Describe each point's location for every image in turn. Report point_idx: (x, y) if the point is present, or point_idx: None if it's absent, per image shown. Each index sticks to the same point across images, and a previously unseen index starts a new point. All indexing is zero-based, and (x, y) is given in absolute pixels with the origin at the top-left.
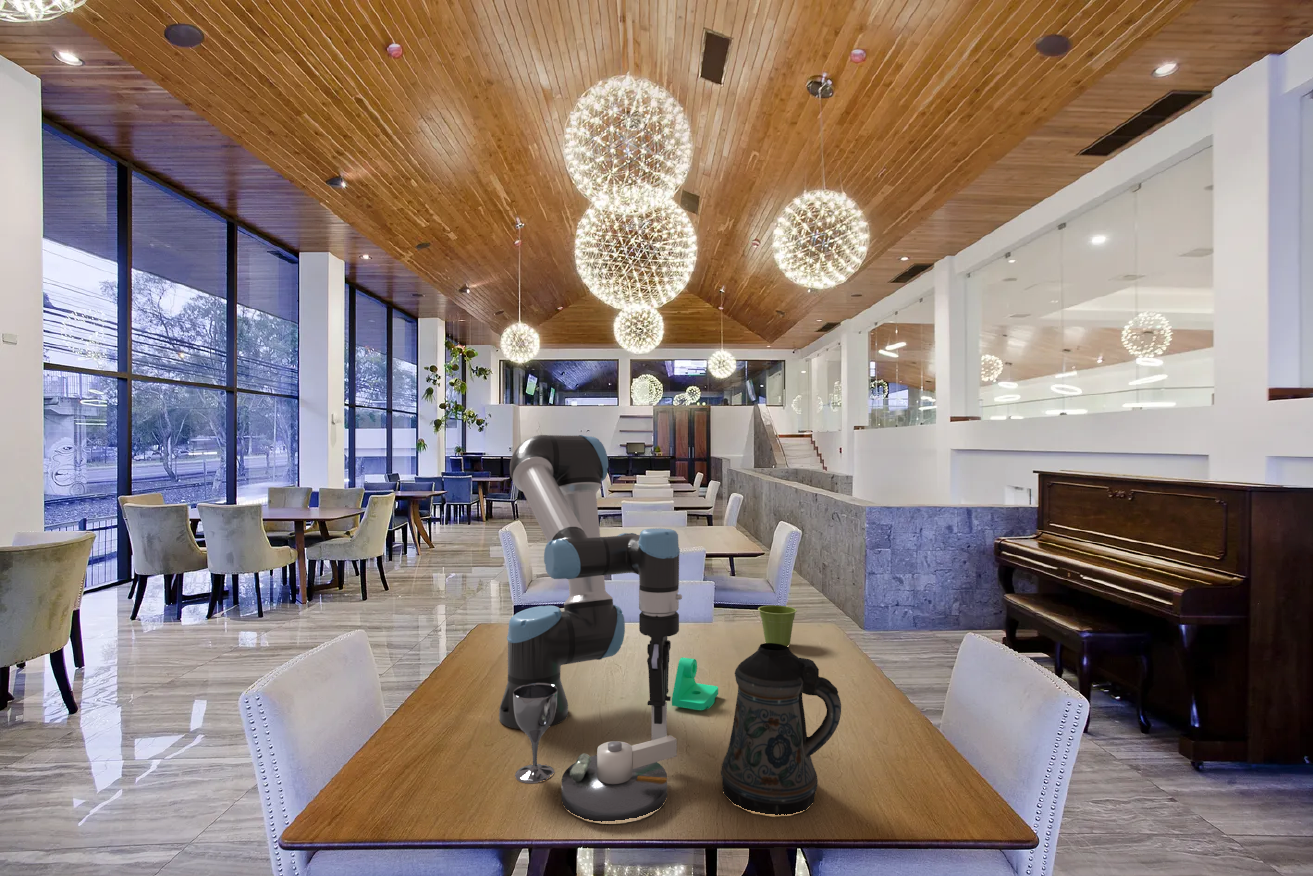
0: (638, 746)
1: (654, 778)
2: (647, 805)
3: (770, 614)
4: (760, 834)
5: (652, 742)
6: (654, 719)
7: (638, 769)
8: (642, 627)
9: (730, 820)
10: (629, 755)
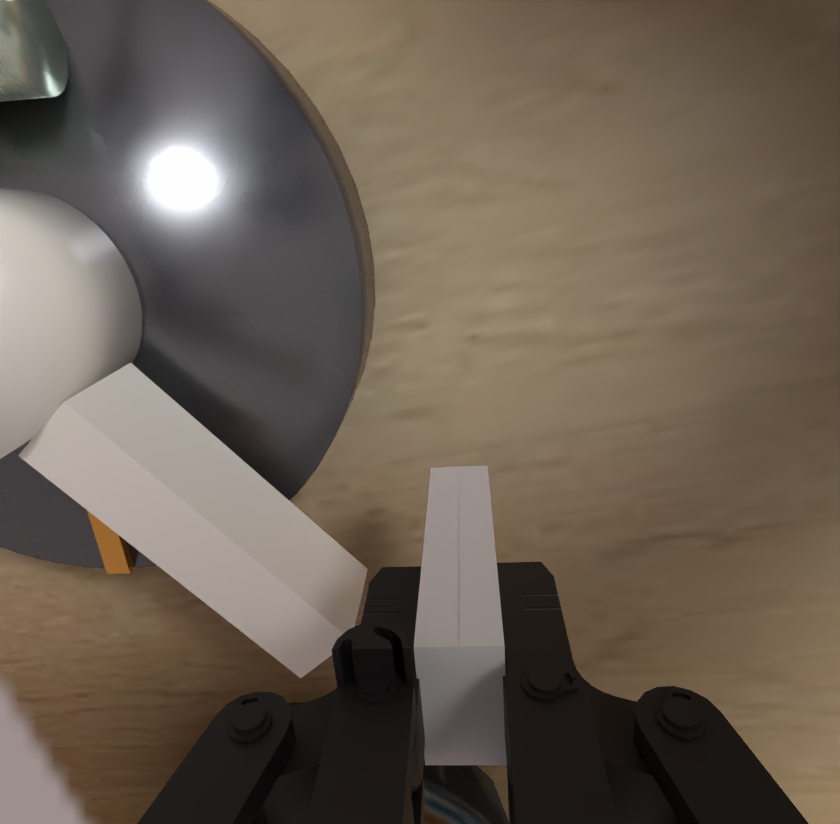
0: (103, 476)
1: (98, 519)
2: None
3: None
4: (82, 801)
5: (201, 552)
6: (369, 595)
7: None
8: None
9: (118, 730)
10: None
